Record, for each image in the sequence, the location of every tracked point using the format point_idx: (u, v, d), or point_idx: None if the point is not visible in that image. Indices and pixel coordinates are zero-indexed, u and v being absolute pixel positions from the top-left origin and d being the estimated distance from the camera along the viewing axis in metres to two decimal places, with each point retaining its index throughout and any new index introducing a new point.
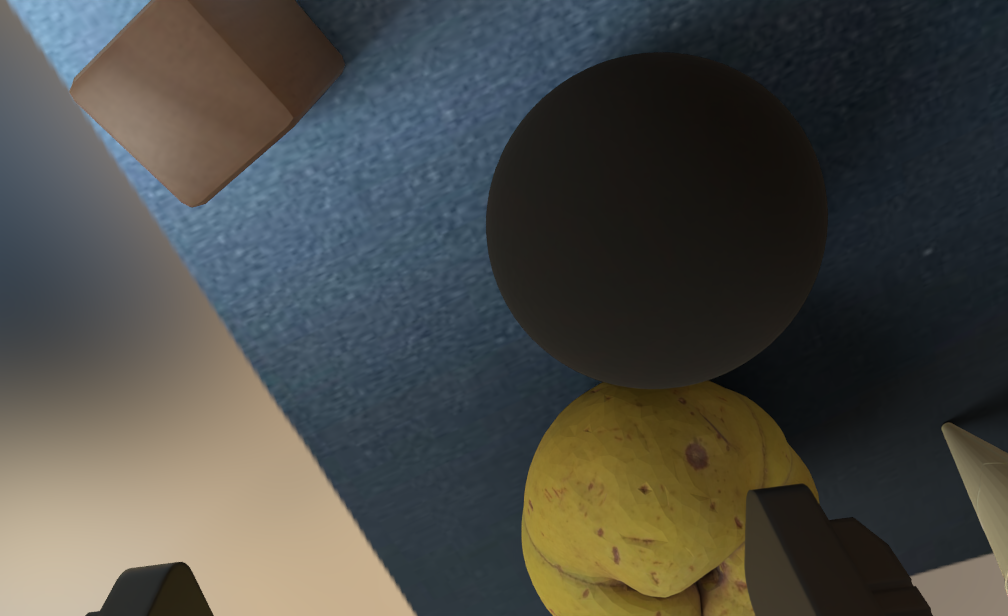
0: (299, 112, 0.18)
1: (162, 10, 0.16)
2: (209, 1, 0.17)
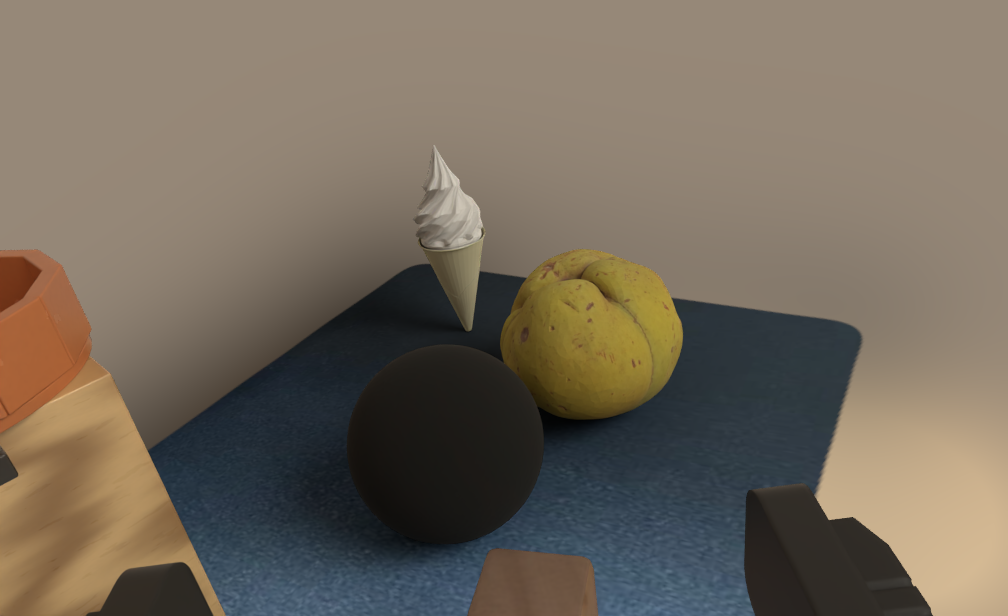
0: None
1: None
2: None
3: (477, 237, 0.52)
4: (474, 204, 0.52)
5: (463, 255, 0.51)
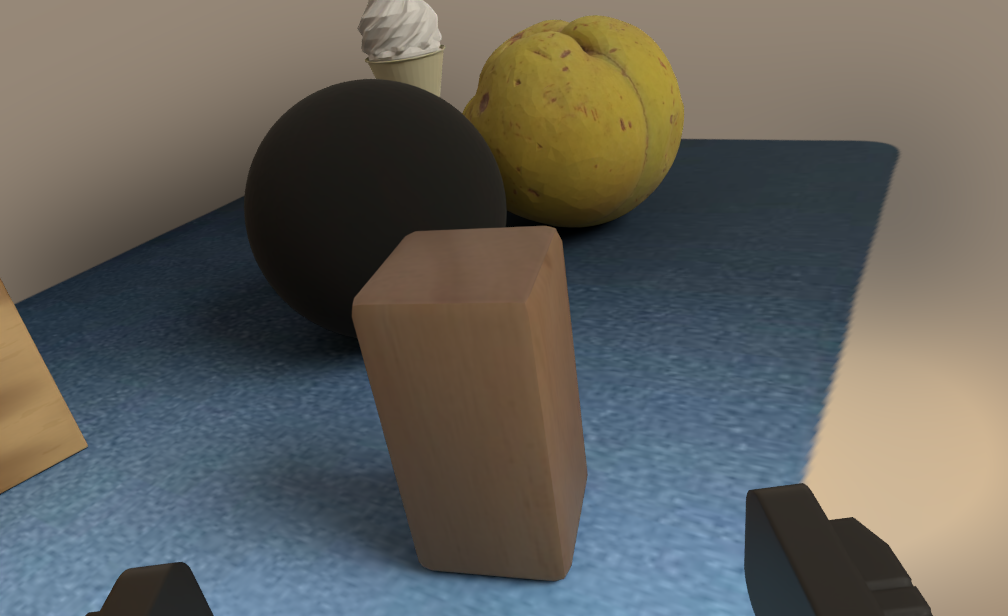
0: None
1: (377, 295, 0.15)
2: None
3: (435, 48, 0.43)
4: (431, 10, 0.43)
5: (418, 68, 0.43)
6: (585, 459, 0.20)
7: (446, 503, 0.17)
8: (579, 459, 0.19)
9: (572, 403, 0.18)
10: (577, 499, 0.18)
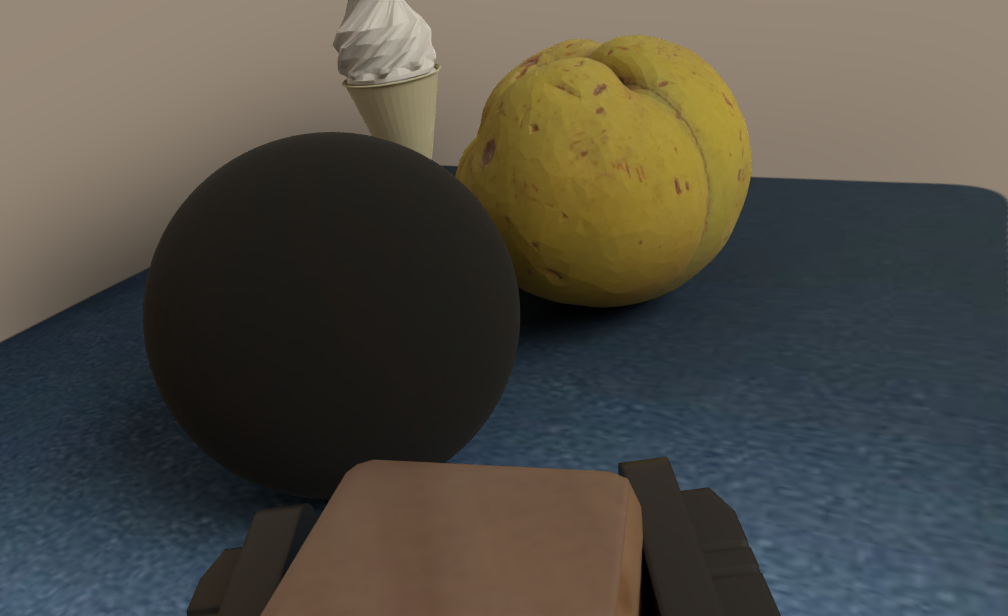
0: None
1: None
2: None
3: (427, 69, 0.35)
4: (423, 22, 0.35)
5: (406, 94, 0.35)
6: None
7: None
8: None
9: None
10: None
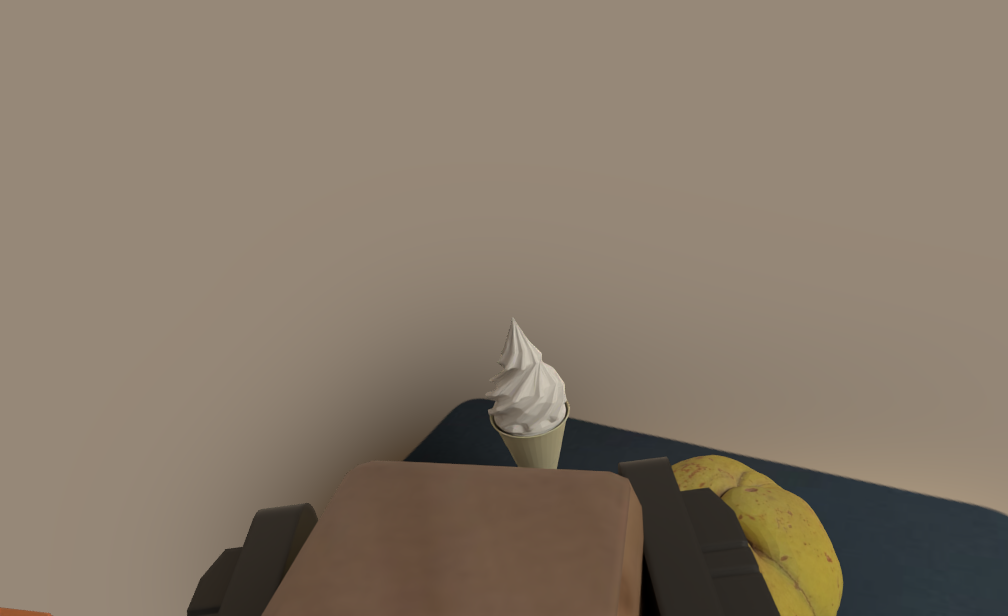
0: None
1: None
2: None
3: (562, 417, 0.44)
4: (557, 377, 0.44)
5: (547, 439, 0.43)
6: None
7: None
8: None
9: None
10: None
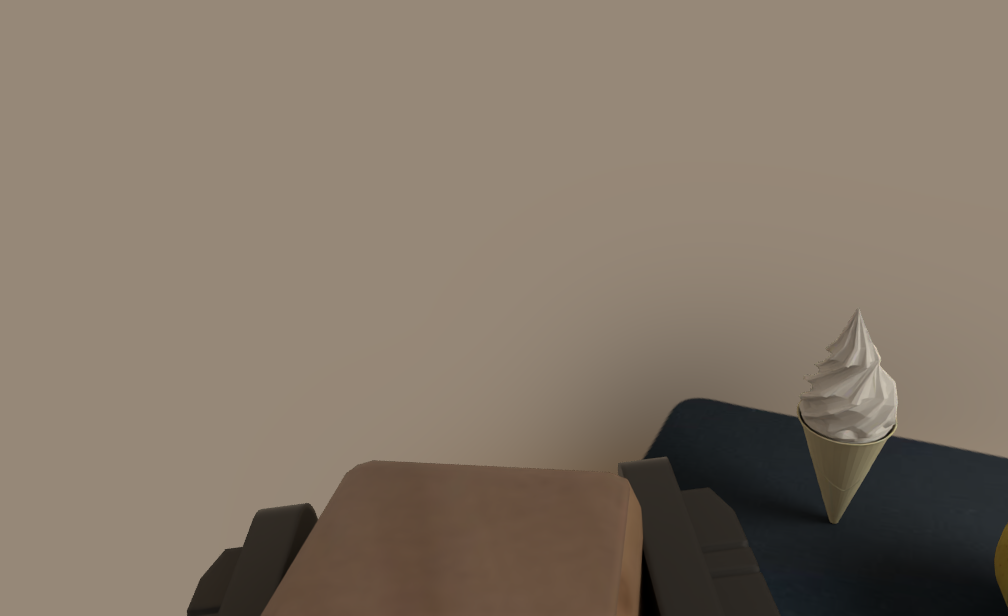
0: None
1: None
2: None
3: None
4: None
5: (877, 447, 0.38)
6: None
7: None
8: None
9: None
10: None
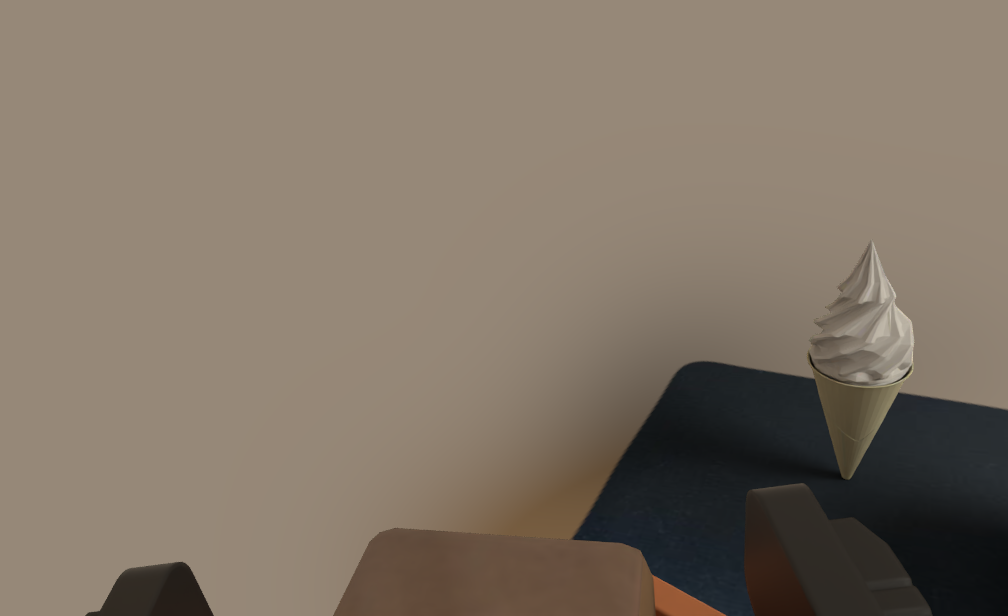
0: None
1: None
2: None
3: None
4: None
5: (893, 390, 0.36)
6: None
7: None
8: None
9: None
10: None
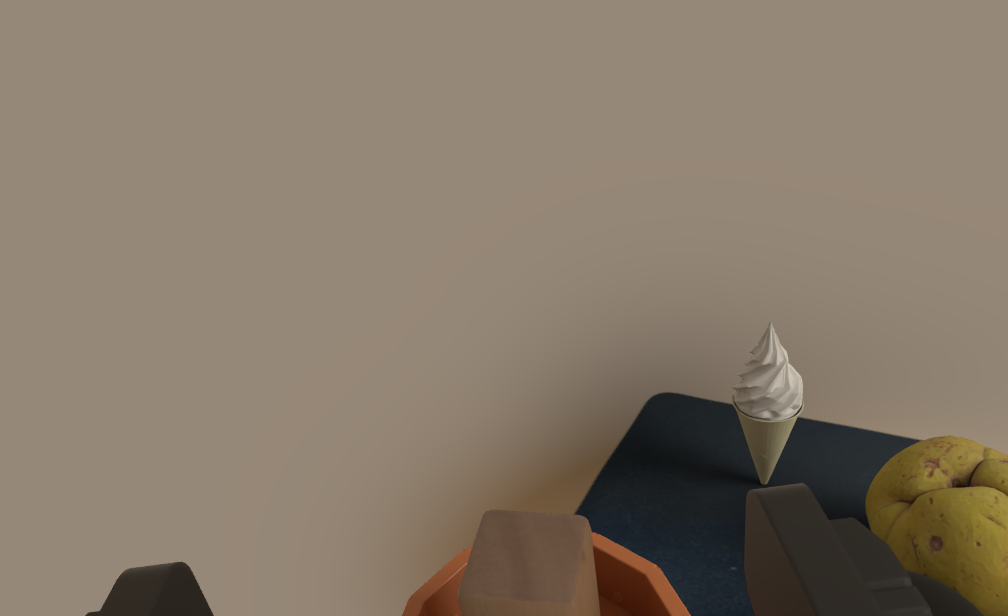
0: None
1: (475, 588, 0.23)
2: None
3: (800, 405, 0.52)
4: None
5: (788, 423, 0.52)
6: None
7: None
8: None
9: None
10: None
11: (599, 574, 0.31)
